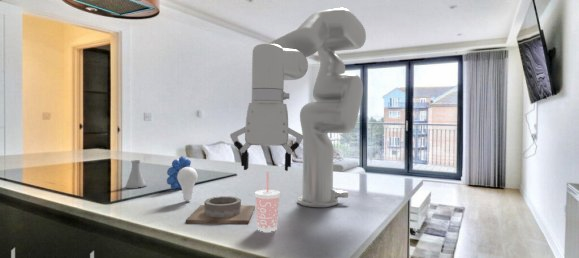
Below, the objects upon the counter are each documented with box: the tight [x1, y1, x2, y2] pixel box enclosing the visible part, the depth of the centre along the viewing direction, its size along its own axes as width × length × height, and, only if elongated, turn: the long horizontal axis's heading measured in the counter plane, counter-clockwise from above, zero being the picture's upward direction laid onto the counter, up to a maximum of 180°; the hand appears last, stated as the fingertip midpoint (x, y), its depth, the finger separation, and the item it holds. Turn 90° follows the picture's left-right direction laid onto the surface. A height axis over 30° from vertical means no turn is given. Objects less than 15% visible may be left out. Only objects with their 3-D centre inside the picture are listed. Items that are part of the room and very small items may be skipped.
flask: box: [125, 159, 147, 189], centre depth 128 cm, size 7×7×10 cm
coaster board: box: [185, 195, 256, 224], centre depth 93 cm, size 16×14×4 cm
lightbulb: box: [177, 166, 198, 202], centre depth 107 cm, size 6×6×11 cm
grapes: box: [166, 156, 193, 191], centre depth 125 cm, size 12×7×12 cm, turn 151°
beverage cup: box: [254, 171, 281, 233], centre depth 82 cm, size 6×6×14 cm
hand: (266, 169), depth 81 cm, fingers open, 9 cm apart
